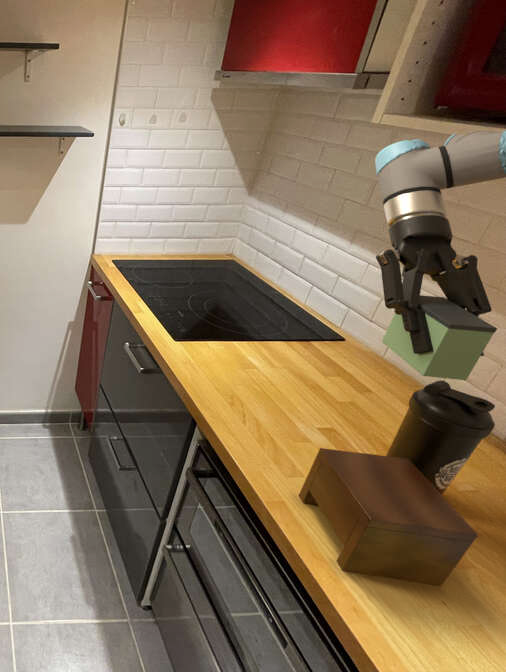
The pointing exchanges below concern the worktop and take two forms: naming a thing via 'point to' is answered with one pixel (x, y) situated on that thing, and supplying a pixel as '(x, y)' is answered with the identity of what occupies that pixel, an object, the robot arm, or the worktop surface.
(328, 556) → the worktop surface
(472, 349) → the box
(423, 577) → the walnut shelf
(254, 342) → the worktop surface
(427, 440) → the water bottle
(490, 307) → the robot arm
